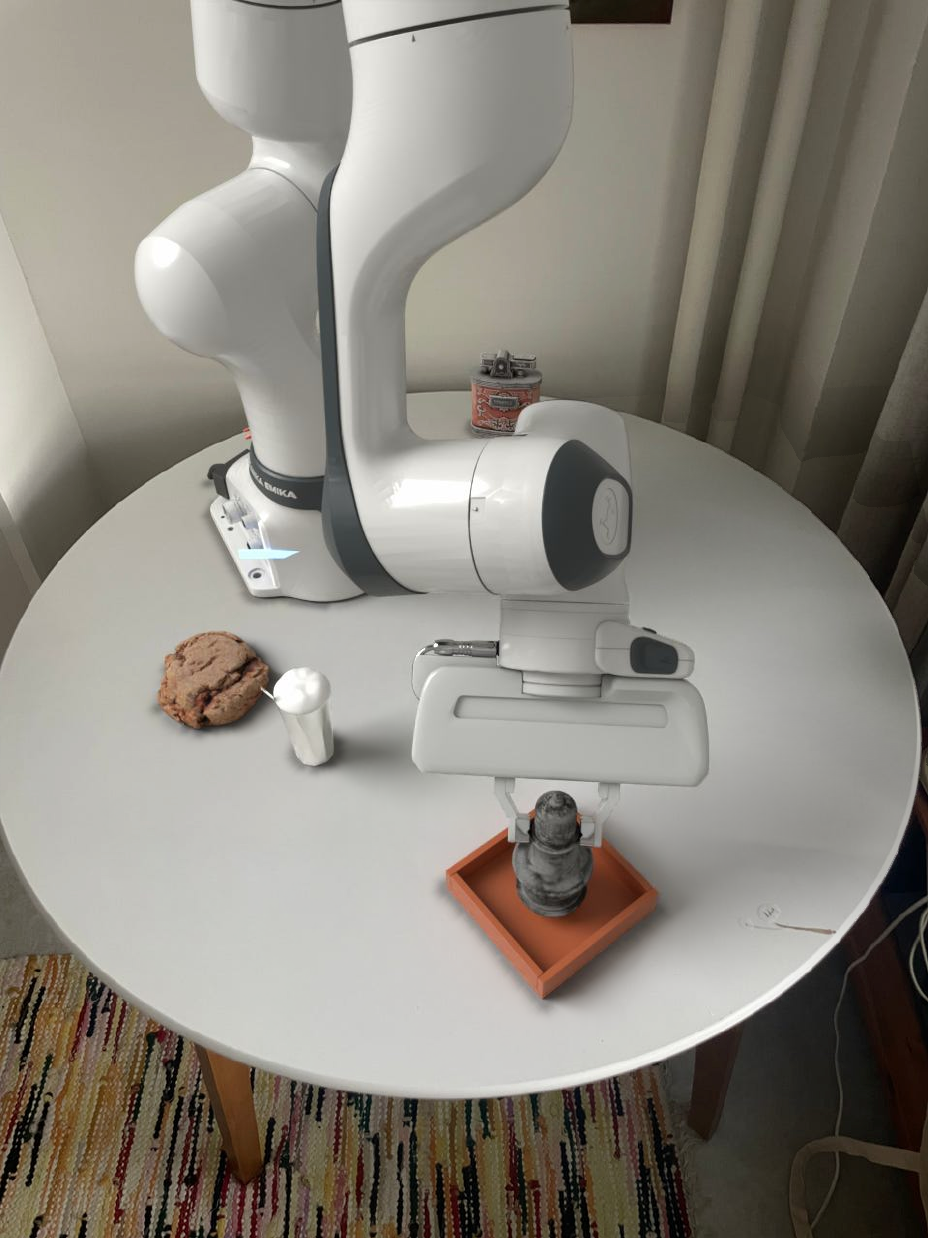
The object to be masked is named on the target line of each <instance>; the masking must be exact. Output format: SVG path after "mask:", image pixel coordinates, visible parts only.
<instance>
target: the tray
mask: <svg viewBox="0 0 928 1238" xmlns="http://www.w3.org/2000/svg"><path fill="white" fill-rule="evenodd" d="M526 814H530V823H531V821H532V819H533V818H534V817H535V808H533V809H532V810H530V811H529V812H528V813H526ZM580 817H583V815H582V814H580V812H578V811H577V822H578V823H579V825H580ZM508 827H509V826H507V827H505V829H503V830H502V831H500V832H499V833H497V834H496V835H495V836H493V837H492V838H490V839H489V840H487V841H486V842H484V843H483V844H481V845H480V846H479V847H477V848H476V849H475V850H472V852H470V853H469V854H468V855H466V856H464V857H463V858H461V860H459V861H458V862H456V863H454V864H453V865H452V866H450V867H449V868H447V869H446V870H445V880H446V888H447V890H449V892H450V893H451V894H452V895H453V896H454V898H455V899H456V900H457V901H458V902H459V903H460V905H461V906H462V907H463V908H464V909H465V910H466V912H467V913H468V915H470V916H471V918H473V920H474V921H475V922H476V923H477V925H479V927H480V928H481V929H482V930H483V932H484V933H485V934H486V935H487V936H488V938H489V939H490V940H491V941H492V942H493V944H494V945H495V946H496V947H497V948H498V949H499V951H501V953H502V954H503V955H504V956H505V958H506V959H507V960H508V961H509V962H510V963H511V965H512V966H513V967H514V968H515V969H516V970H517V972H518V973H519V974H520V975H521V976H522V977H523V979H524V980H525V981H526V983H528V984H529V986H530V987H531V988H532V990H533V991H534V992H535V993H536V994H537V995H538V996H539V997H540V999H541V1000H543V999H544V998H546V997H547V996H548V995H549V994H551V993H552V992H553V991H554V990H555V989H557V988H558V987H559V986H561V985H562V984H564V982H565V981H567V980H569V979H570V978H571V977H573V975H575V974H576V973H577V972H578V971H579V970H581V969H582V968H583V967H584V966H586V965H587V964H588V963H590V962H591V961H592V960H593V959H595V958H596V957H597V956H598V955H599V954H601V953H602V952H603V951H604V950H606V949H607V948H608V947H609V946H610V945H612V944H613V943H614V942H616V941H617V940H618V939H619V938H621V937H622V936H623V935H624V934H625V933H627V932H628V931H629V930H630V929H632V928H634V926H636V925H637V924H638V923H639V922H641V921H642V920H643V919H644V918H645V917H647V916H648V915H649V914H650V913H652V912H654V910H656V908H657V903H658V899H659V895H660V892H659V891H658V889H656V887H654V886H653V885H652V883H650V882H649V881H648V880H647V879H646V878H645V877H644V875H642V874H641V873H640V872H639V871H638V870H637V869H636V868H635V867H634V866H633V864H631V863H630V862H629V861H628V860H627V859H626V858H625V856H623V855H622V854H621V853H620V852H619V851H618V850H617V849H616V848H615V847H614V846H613V845H612V844H611V843H610V842H609V841H608V840H607V839H606V838H605V837H604V836H603V835H602V844H601V848H598V847H590V848H591V850H592V853H593V856H594V869H593V872H592V875H591V878H590V879H589V881H588V882H587V892H586V896H585V899H584V900H583V902H582V904H581V905H580V906H579V907H578V908H577V909H576V910H575V911H574V912H572V913H569V914H567V915H565V916H561V917H545V916H542V915H538V914H536V913H534V912H533V911H531V910H529V909H528V908H527V907H526V906H525V905H524V904H523V903H522V901H521V899H520V897H519V896H518V892H517V888H516V880H517V876H516V874H515V872H514V868H513V864H512V860H513V851H514V849H515V846H516V844H517V843H511V842H508Z"/></svg>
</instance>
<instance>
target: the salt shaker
mask: <svg viewBox="0 0 928 1238" xmlns="http://www.w3.org/2000/svg"><path fill="white" fill-rule="evenodd" d="M534 809H535V817H534V818H533V819H532V821H531V823H530V829H529V833H530V834H529V843H517V844H516V846H515V849H514V851H513V860H512V864H513V868H514V872H515V874H516V876H517V880H516V888H517V892H518V896H519V897H520V899H521V901H522V903H523V904H524V905H525V906H526V907H527V908H528V909H529V910H531V911H533V912H534V913H536V914H538V915H542V916H545V917H561V916H565V915H567V914H569V913H572V912H574V911H575V910H576V909H577V908H578V907H579V906H580V905H581V904H582V902H583V900H584V899H585V896H586V892H587V882H588V881H589V879H590V878H591V875H592V872H593V869H594V856H593V853H592V850H591V848H590V847H583V846H580V844H579V841H580V835H581V830H580V825H579V823H578V822H577V812H578V806H577V803H576V801H575V799H574V798H573V797H572V796H571V795H570V794H569V793H567V792H566V791H562V790H549V791H546V792H544V793H543V794H541V795H540V796H539V797H538V798H537V800H536V803H535V805H534Z"/></svg>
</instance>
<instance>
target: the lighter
mask: <svg viewBox="0 0 928 1238" xmlns="http://www.w3.org/2000/svg"><path fill="white" fill-rule="evenodd" d="M479 363H480V364H479V365H476V366H473V367H472V368H471V369H470V371H469V381H470V382H471V416H472V417H471V420H470V430H471V432H472V433H474V434H476V435H480V436H485V437H489V438H495V437H505V436H512V435H513V434H514V433H515V428H516V424H517V420H518V417H519V415H520V413H521V411H522V410H523V409H524V408H526V407H527V406H529V405H531V404H534V403H537V402H540V401H541V385H542V383H543V374H542V372H541V371H540V370H539V369H536V368H537V356H535V354H527V353H526V354H525V353H514V354H511V353H510V352H509V351H508V349H507V350H506V349H499V350H498V351H497V352H481V353H480V355H479Z"/></svg>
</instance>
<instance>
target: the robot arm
mask: <svg viewBox="0 0 928 1238" xmlns="http://www.w3.org/2000/svg"><path fill="white" fill-rule="evenodd" d="M189 4H190V16H191V28H192V43H193V53H194V54H193V55H194V64H195V67H194V68H195V76H196V80H197V83H198V86H199V88H200V90H201V92H202V94H203V96H204V97H205V99H206V100H207V102H208V103H209V104H210V106H211V107H212V108H213V109H214V111H215V112H216V113H217V114H218V115H219V116H220V117H221V118H222V120H224V121H225V122H226V123H228V124H229V125H230V126H232V127H234V128H235V129H236V130H238V131H241V132H243V133H245V134H247V135H250V136H251V140H252V154H251V158H250V161H249V164H248V166H247V168H246V169H244V170H243V171H242V172H241V173H240V174H238V175H236V176H234V177H233V178H231V179H229V180H226V181H224V182H222V183H221V184H218V185H217V186H215V187H213V188H211V189H209V190H207V191H205V192H203V193H201V194H198V195H197V196H195V197H193V198H192V199H189V200H187V201H185V202H184V203H182V204H181V205H179V206H178V207H177V208H176V209H175V210H173V212H172V213H170V214H169V215H168V216H167V217H166V218H165V219H164V220H162V221H161V222H160V223H159V224H158V225H157V226H156V227H155V228H153V230H152V231H150V232H149V233H148V235H146V236H145V237H144V238H143V239H142V240H141V242H139V244H138V246H137V249H136V251H135V256H134V264H133V265H134V267H133V271H134V273H133V274H134V283H135V288H136V293H137V296H138V300H139V302H140V304H141V307H142V309H143V310H144V312H145V314H146V316H147V318H148V319H149V321H150V322H151V323H152V325H153V326H154V328H156V330H157V331H158V332H159V333H160V334H161V335H162V336H163V337H164V338H165V339H167V341H169V342H170V343H172V344H173V345H174V346H176V347H177V348H179V349H181V350H182V351H185V352H187V353H189V354H192V355H194V356H197V357H200V358H203V359H209V360H213V361H215V362H217V363H219V364H220V365H221V366H222V367H224V368H225V370H226V371H227V372H228V373H229V375H231V377H232V379H233V381H234V383H235V385H236V388H237V390H238V393H239V396H240V400H241V403H242V406H243V410H244V414H245V417H246V421H247V425H248V427H246V428H245V429H243V432H244V433H247V432H249V433H248V434H247V435H245V437H244V439H245V440H250V439H251V442H250V446H249V448H246V449H244V450H243V451H241V452H239V453H238V454H237V455H235V456H233V457H232V458H231V459H229V460H227V461H226V462H225V463H214V464H212V465H211V466H210V467H209V468H208V471H207V474H206V477H207V479H208V480H209V481H210V480H212V481H213V484H214V485H213V486H214V488H215V492H216V494H217V495H218V497H216V498H215V499H214V501H213V502H212V503H211V505H210V507H209V510H210V516H211V518H212V520H213V522H214V524H215V527H216V529H217V530H218V532H219V534H220V536H221V538H222V540H223V543H224V544H225V547H226V548H227V550H228V552H229V554H230V556H231V558H232V560H233V563H234V564H235V565H236V569H238V572H239V573H240V576H241V577H242V580H243V582H244V584H245V585H246V587H247V589H248V592H249V593H250V594H251V595H252V596H254V597H257V598H276V597H288V598H289V597H290V598H294V599H298V600H303V601H311V602H334V601H342V600H347V599H351V598H354V597H357V596H360V595H362V594H366V595H369V596H372V597H376V598H385V597H400V596H402V597H403V596H415V595H416V596H417V595H428V594H430V593H432V594H452V595H453V594H457V595H480V596H500V607H499V608H500V611H499V634H498V638H499V639H498V640H465V641H464V640H460V641H459V640H454V639H449V638H441V639H440V638H439V639H435V640H434V641H433V642H434V643H433V644H428V645H426V646H424V647H422V648H420V650H419V651H418V652H417V653H416V654H415V656H414V658H413V660H412V664H411V689H412V692H413V695H414V696H415V698H416V699H417V700H418V705H417V710H416V714H415V720H414V726H413V735H412V744H411V760H412V762H413V763H414V765H415V766H416V768H417V769H418V770H419V771H420V773H423V774H431V775H433V774H434V775H449V776H451V775H452V776H470V777H471V776H473V777H488V778H489V777H490V778H492V777H493V778H494V779H493V780H494V781H493V794H494V796H495V798H496V799H497V802H498V804H499V805H500V807H501V809H502V811H503V812H504V814H505V816H506V818H508V826H507V827H508V842H511V843H529V834H530V833H529V829H530V814H527V813H526V812H525V813H524V812H519V809H518V808H517V806H516V804H515V801H514V800H513V798H512V796H511V794H514V792H515V789H516V779H528V780H547V781H568V782H582V783H583V782H585V783H586V782H587V783H597V792H598V796H599V798H600V799H601V801H600V803H599V804H598V806H597V807H596V809H595V810H594V812H593V814H592V815H591V816H582V817H580V830H581V835H580V841H579V844H580V846H583V847H598V848H601V844H602V836H603V824H605V823H606V821H607V820H608V818H609V817H610V815H611V814H612V812H613V811H614V810H615V808H616V806H617V805H618V804H619V802H620V799H621V784H624V785H642V786H643V785H644V786H661V787H679V788H697V787H699V786H700V785H701V784H702V783H703V781H704V780H706V778H707V777H708V775H709V772H710V738H709V737H710V736H709V725H708V717H707V710H706V704H705V701H704V698H703V696H702V694H701V692H700V691H699V689H698V688H697V687H696V686H695V685H694V684H693V683H692V682H690V681H689V680H688V679H686V678H689V677H690V676H691V675H692V674H693V672H694V669H695V664H696V662H695V661H696V656H695V652H694V650H693V649H692V647H690V646H689V645H687V644H686V643H684V642H681V641H680V640H677V639H673V638H672V637H668V636H665V635H662V634H660V633H657V631H656V630H655V629H652V628H650V627H646V626H642V627H639V626H635V625H633V624H631V620H630V594H629V589H628V585H627V580H626V563H627V558H628V555H629V554H630V552H631V547H632V541H633V533H634V532H633V529H634V528H633V527H634V487H633V486H634V484H633V469H632V458H631V457H632V456H631V447H630V441H629V431H628V427H627V423H626V421H625V420H624V418H623V417H622V416H621V414H619V413H618V412H616V411H615V410H613V409H612V408H610V407H608V406H605V405H603V404H599V403H595V402H592V401H588V400H584V399H577V398H553V399H545V400H540V402H537V403H534V404H531V405H529V406H527V407H526V408H524V409H523V410H522V411H521V413H520V415H519V417H518V420H517V424H516V428H515V433H514V434H513V435H512V436H505V437H489V438H453V439H451V438H450V439H427V438H424V437H421V436H420V435H418V434H417V433H416V432H415V431H414V430H413V429H412V428H411V426H410V424H409V421H408V409H407V405H408V404H407V401H408V400H407V350H406V349H407V347H406V341H407V340H406V306H407V299H408V295H409V291H410V290H411V289H410V288H411V286H412V283H413V281H414V279H415V278H416V276H417V275H418V273H419V271H420V270H421V269H422V267H423V266H424V265H425V264H426V263H427V262H428V261H430V259H432V257H434V256H435V255H436V254H437V253H438V252H440V251H441V250H443V249H444V248H446V247H447V246H449V245H451V244H452V243H454V242H456V241H457V240H459V239H461V238H463V237H464V236H465V235H468V234H469V233H471V232H473V231H475V230H477V229H478V228H480V227H481V226H483V225H485V224H487V223H488V222H490V221H492V220H494V219H496V218H497V217H498V216H499V215H500V216H501V214H503V213H505V212H506V211H508V210H509V209H510V208H512V207H513V206H515V205H516V204H517V203H519V202H520V201H521V200H522V199H523V198H525V196H527V195H528V194H529V193H530V192H532V190H534V188H535V187H536V186H537V185H538V184H539V183H540V182H541V181H542V179H543V178H544V177H545V176H546V175H547V173H548V172H549V171H550V169H551V168H552V167H553V165H554V164H555V162H556V160H557V158H558V156H559V155H560V154H561V151H562V149H563V147H564V144H565V142H566V140H567V137H568V135H569V131H570V128H571V126H572V121H573V112H574V99H575V63H574V46H573V33H572V20H571V11H570V9H567V8H570V0H189ZM317 316H318V324H319V325H317ZM318 327H319V328H318ZM431 651H433V654H427V653H429V652H431Z"/></svg>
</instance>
